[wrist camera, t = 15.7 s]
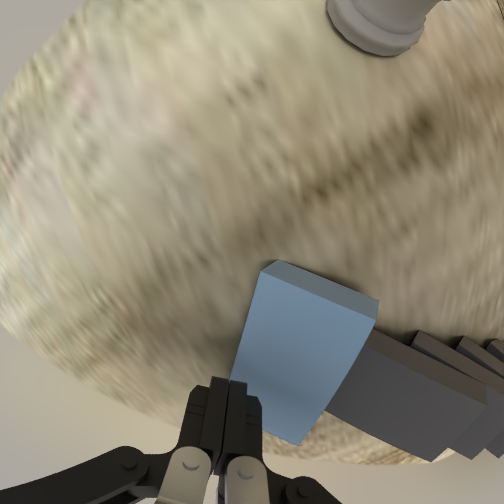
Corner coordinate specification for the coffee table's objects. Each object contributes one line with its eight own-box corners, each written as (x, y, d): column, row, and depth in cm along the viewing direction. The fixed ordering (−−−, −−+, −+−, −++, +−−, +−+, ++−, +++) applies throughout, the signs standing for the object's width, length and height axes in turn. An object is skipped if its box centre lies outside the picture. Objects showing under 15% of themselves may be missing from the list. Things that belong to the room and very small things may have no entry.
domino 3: (464, 335, 15) (545, 394, 8) (429, 387, 17) (502, 443, 10) (458, 344, 14) (545, 408, 7) (420, 398, 15) (498, 458, 9)
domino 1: (354, 319, 14) (484, 384, 10) (321, 382, 16) (435, 440, 12) (343, 334, 13) (487, 405, 8) (307, 400, 15) (431, 462, 10)
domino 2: (419, 330, 15) (520, 389, 9) (382, 387, 16) (474, 441, 11) (413, 342, 13) (523, 406, 8) (372, 402, 15) (471, 459, 10)
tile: (378, 300, 12) (309, 423, 15) (278, 259, 13) (237, 388, 16) (376, 320, 10) (298, 446, 13) (260, 271, 12) (220, 407, 15)
